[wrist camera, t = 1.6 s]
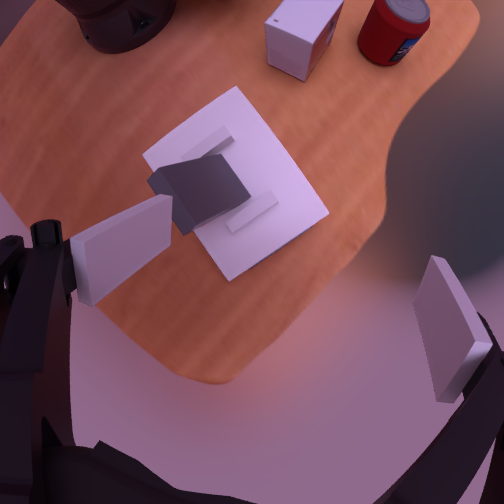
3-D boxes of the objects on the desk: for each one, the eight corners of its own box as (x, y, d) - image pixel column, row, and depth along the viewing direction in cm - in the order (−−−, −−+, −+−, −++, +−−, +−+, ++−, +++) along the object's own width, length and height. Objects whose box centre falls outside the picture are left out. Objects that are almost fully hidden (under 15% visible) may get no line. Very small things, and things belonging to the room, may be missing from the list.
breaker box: (239, 269, 40) (226, 290, 29) (166, 163, 39) (132, 150, 28) (320, 214, 38) (336, 216, 28) (243, 108, 37) (232, 76, 27)
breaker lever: (242, 203, 31) (183, 235, 23) (213, 162, 30) (146, 180, 22) (254, 194, 30) (196, 224, 22) (224, 152, 30) (158, 167, 21)
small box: (304, 83, 36) (312, 46, 26) (266, 64, 36) (262, 23, 26) (332, 42, 35) (346, -1, 24) (295, 24, 35) (299, -21, 24)
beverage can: (401, 74, 35) (437, 36, 23) (354, 60, 35) (378, 14, 23) (402, 36, 34) (433, -6, 22) (357, 23, 34) (378, -25, 22)
